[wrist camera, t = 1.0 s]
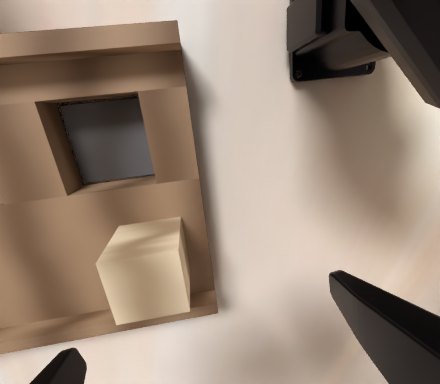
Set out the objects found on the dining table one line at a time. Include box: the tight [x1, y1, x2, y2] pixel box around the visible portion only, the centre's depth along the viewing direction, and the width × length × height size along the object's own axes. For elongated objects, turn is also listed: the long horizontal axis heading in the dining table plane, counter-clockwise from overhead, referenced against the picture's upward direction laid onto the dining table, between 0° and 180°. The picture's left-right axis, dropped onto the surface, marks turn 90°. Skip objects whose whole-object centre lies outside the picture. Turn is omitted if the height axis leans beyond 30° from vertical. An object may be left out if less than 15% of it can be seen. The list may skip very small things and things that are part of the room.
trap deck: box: [0, 20, 218, 354], centre depth 15 cm, size 24×20×6 cm
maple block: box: [96, 217, 190, 325], centre depth 16 cm, size 4×4×4 cm
